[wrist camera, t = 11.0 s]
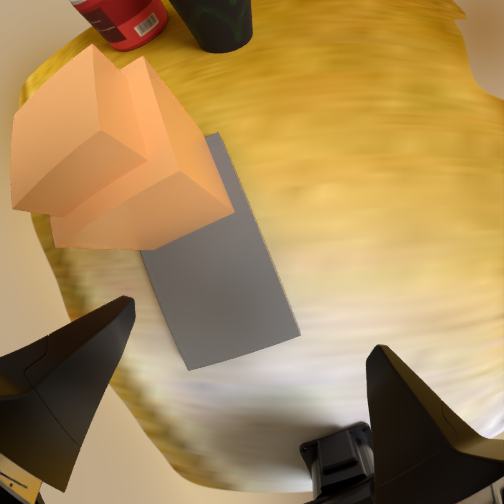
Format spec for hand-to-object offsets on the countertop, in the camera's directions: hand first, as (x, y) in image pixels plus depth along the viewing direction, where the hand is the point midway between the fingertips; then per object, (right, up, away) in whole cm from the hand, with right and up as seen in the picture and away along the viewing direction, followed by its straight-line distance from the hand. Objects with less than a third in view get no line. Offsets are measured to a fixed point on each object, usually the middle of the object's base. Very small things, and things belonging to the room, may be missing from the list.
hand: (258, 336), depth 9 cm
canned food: (-14, +30, +13) cm, 35 cm away
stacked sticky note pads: (-6, +7, +10) cm, 14 cm away
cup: (-3, +25, +12) cm, 28 cm away
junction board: (-4, +3, +12) cm, 13 cm away
